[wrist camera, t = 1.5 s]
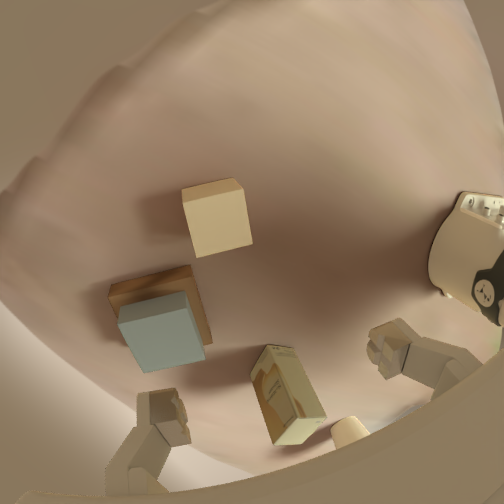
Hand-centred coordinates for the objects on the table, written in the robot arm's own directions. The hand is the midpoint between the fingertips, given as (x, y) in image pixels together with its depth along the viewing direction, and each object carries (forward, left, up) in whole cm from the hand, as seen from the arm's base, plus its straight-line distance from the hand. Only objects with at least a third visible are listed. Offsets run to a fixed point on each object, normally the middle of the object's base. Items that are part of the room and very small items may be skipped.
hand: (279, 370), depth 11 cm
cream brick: (0, 0, -21) cm, 21 cm away
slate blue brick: (+8, +10, -18) cm, 22 cm away
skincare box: (-3, +23, -21) cm, 31 cm away
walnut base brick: (+8, +10, -21) cm, 25 cm away
